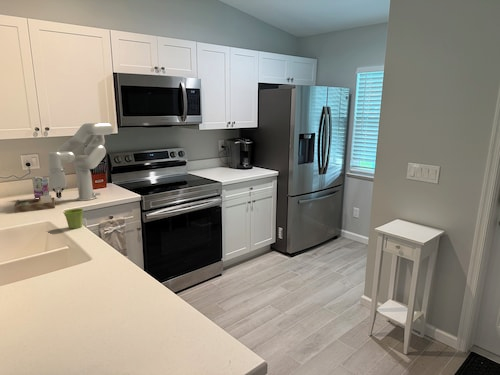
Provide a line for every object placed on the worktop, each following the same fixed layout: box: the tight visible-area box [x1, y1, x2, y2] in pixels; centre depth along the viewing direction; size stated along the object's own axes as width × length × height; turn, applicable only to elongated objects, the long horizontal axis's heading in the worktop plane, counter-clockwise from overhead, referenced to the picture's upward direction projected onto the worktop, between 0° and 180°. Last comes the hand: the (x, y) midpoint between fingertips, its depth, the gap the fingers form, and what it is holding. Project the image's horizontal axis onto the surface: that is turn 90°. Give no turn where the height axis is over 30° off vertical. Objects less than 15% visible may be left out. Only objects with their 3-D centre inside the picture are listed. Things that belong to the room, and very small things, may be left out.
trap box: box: [14, 197, 56, 214], centre depth 223 cm, size 21×18×5 cm
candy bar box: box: [31, 176, 50, 199], centre depth 250 cm, size 11×5×16 cm, turn 62°
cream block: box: [40, 194, 52, 203], centre depth 226 cm, size 6×5×4 cm
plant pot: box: [62, 208, 84, 230], centre depth 175 cm, size 9×9×9 cm
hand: (59, 198), depth 229 cm, fingers closed
